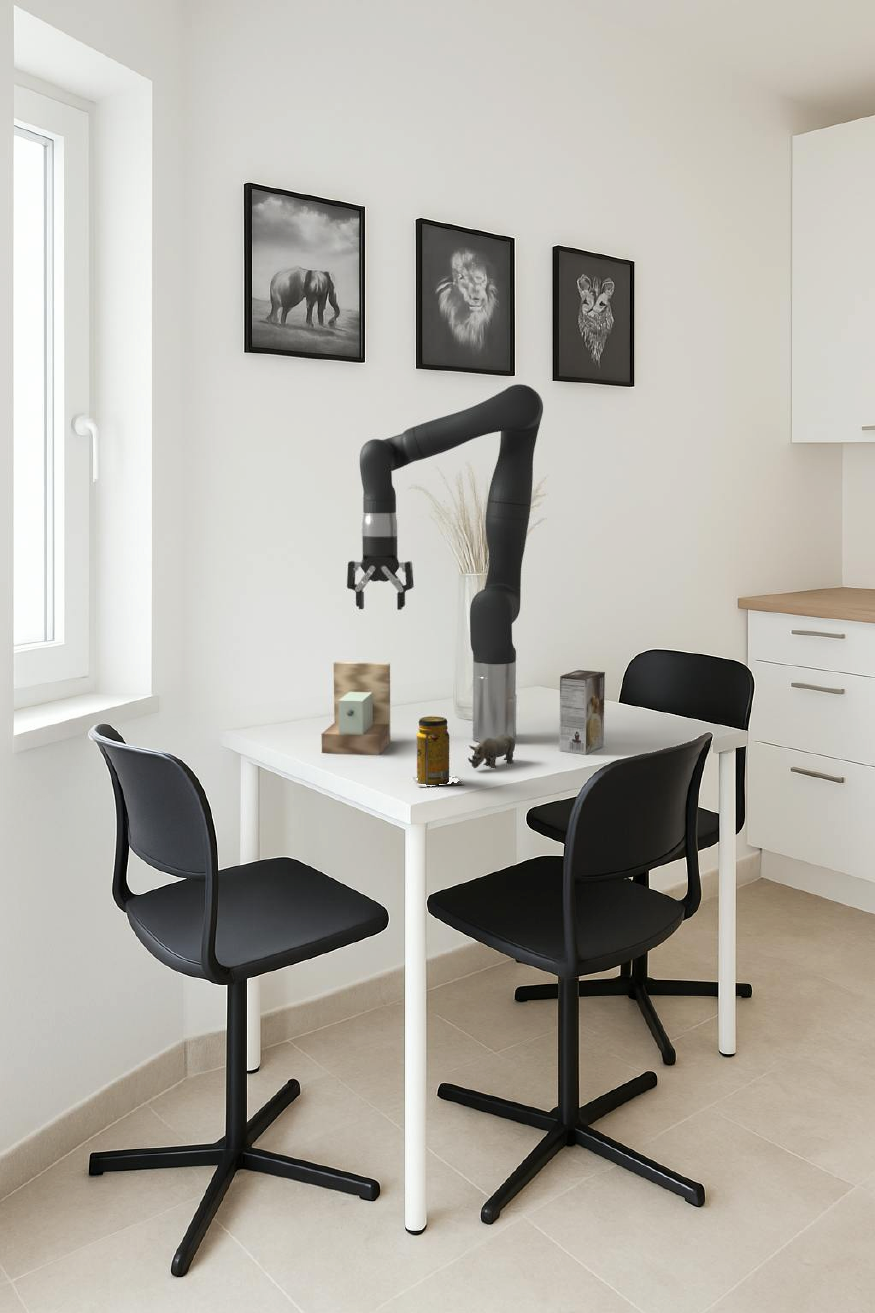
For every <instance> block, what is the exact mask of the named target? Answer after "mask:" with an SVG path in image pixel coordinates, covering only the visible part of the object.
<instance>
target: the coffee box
mask: <svg viewBox="0 0 875 1313" xmlns="http://www.w3.org/2000/svg"><path fill="white" fill-rule="evenodd" d="M605 679H606V672H605V671H593V670H582V669H579V670H578V669H577V670H575V671H572V672H569V673H565V674H562V675H560V678H559V735H558V736H559V738H558V739H559V744H558V745H559V746H558V747H559V750H558V751H560V752H564V753H571V754H577V755H585V756H586V755H588V754H591V753H592V752H594V751H596V750H598V749H600V748H602V747H604V740H605V738H604V737H605V736H604V735H605V734H604V733H605V730H604V729H605V691H606V690H605V688H606V687H605V684H606V680H605Z"/></svg>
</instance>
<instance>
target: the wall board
mask: <svg viewBox="0 0 875 1313" xmlns="http://www.w3.org/2000/svg"><path fill="white" fill-rule="evenodd" d="M349 692H373V724H389V743H390V742H391V663H388V662H387V663H385V662H383V663H381V662H373V663H372V662H348V661H347V662H345V661H344V662H343V661H341V662H339V661H335V662H333V707H334V708H333V712H334V715H333V717H334V722H333V724H334V723H339V706H338V700H340V699H341V698H342V697H344V696H345V695H346V694H347V693H349Z"/></svg>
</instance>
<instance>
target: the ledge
mask: <svg viewBox="0 0 875 1313" xmlns="http://www.w3.org/2000/svg"><path fill="white" fill-rule="evenodd" d="M389 743H390V742H389V724H373V725H372V726H371V727H370V728H369V729H368V730H367V731H366V732H365V733H364V734H363V735H358V734H339V723H334V722H333V723H332V724H331V725H330V726H329V727H327V728H326V729H325V730H324V731H323V732H321V753H323V754H345V755H346V754H348V755H349V754H350V755H372V756H373V755H375V756H377V755H378V756H379V755H380V754H381V753H383V750H384V749H385V748H386V747H387V746H388V745H389Z"/></svg>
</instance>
